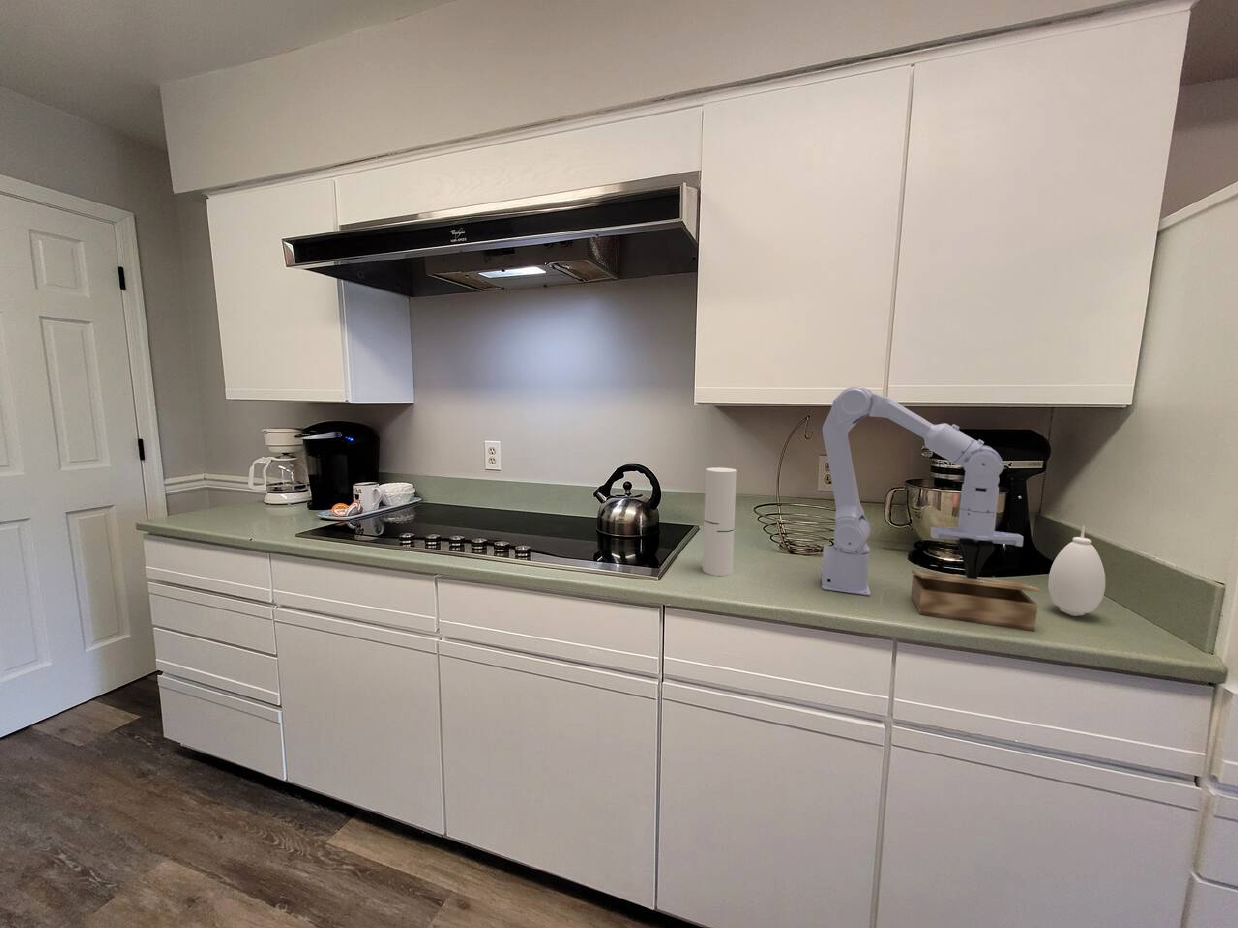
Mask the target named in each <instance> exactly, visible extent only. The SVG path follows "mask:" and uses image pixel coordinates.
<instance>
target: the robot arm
mask: <svg viewBox="0 0 1238 928" xmlns="http://www.w3.org/2000/svg"><path fill="white" fill-rule="evenodd" d="M830 407H831V408H830V410H829V412H828V414H827V417H826V419H825V422H824V424H823V426H822V436H823V441H824V442H823V443H824V448H825V452H826V457H827V463H828V471H829V475H830V481H831V486H832V493H833V499H834V505H835V515H834V521H835V527H834V531H833V535H832V536H833V541H834V543H833V545H824V546H823V558H822V559H823V560H822V568H821V570H820V578H821V589H823V590H826V591H827V590H829V591H835V592H841V593H849V594H855V595H862V596H863V595H864V596H870V595H871V591H870V587H869V584H868V577H869V576H868V575H869V565H870V552H871V548H870V547H869V546H868V544H867V542H866V541H867V540H868V539H869V538H870V536H871V534H872V526H871V524H870V522H869V521H868V519H867V518H866V516H865V512H864V508H863V506H862V505H861V502H860V495H859V490H858V484H857V478H856V473H855V468H854V462H853V457H852V456H853V455H852V451H851V444H850V438H849V433H850V431H852V429H853V428H854V427H855V426H856V424H858V422H859V421H861V420H863V419H864V418H866V417H867V416H868V417H875V418H886V419H889V420H890V421H892V422H894V423H896V424H897V425H899V426H901V427H903V428H904V429H906V430H909V431H910V432H912V433H914V434H915V435H918V436H919V437H922V438H923V441H924V445H925V448H926V449H927V450H930V451H932V452H933V453H935V454H936V455H938V456H940V457H942V458H943V459H944V460H947V461H948V462H950V463H952V464H953V465H955V466H962V467H963V469H964V471H965V472H964V481H963V483H962V486H961V495H960V505H959V512H958V513H959V514H958V524H957V525H958V526H956V527H955V526H954V527H953V526H952V527H948V526H945V527H941V526H939V527H938V526H931V527H930V534H929V535H930V537H931V538H932V540H933V539H934V540H935V539H937V540H939V539H942V540H954V541H955V542H956V545H957V547H958V549H959V551H960V555H961V557H962V561H963V565H964V573H965V574H964V576H967V577H968V578H972V579H977V578H979V577H978V576H979V574H980V571H981V569H982V567H983V566H984V564H985V562H987V560H988V558H990V556H991V555H992V554H993V553H994V552H995V547H996V546H995V545H994V544H1000V545H1007V546H1008V545H1011V546H1015V547H1021V548H1022V547H1023V546H1024V536H1023V535H1021V534H1019V533H1012V532H1004V531H997V530H996V521H997V512H998V505H999V504H998V503H999V495H1000V487H999V484H1000V475H1001V474H1002V473H1003V470H1004V469H1005V466H1004V461H1003V458H1002V457H1001V455H1000V454H999V452H997V451H996V450H995V449H993V448H992V446H989V445H984V444H985V441H983V440H981V439H978V440H976V439H974V438H972V437H971V436H969V435H968V434H965V433H964V432H962V431H960V426H958V425H956V424H953V423H952V425H949V424H948V423H940V424H934V423H931V422H929V421H928V420H926V419H924V418H923V417H922V416H920V415H918V414H916V413H915V412H913V411H912V410H910V409H908V408H907V407H905V406H903V405H902V404H900V403H898V402H897V401H895V400H894V399H892V398H889V397H887V396H884V395H882V394H879V393H876V392H872V391H871V390H870V389H867V388H863V387H858V386H855V387H854V386H853V387H849V388H846V389H844V390H843V391H841V393H839V395H838V396H837V397H836V398H835V399H834V400H833V401H832V404H831V406H830Z"/></svg>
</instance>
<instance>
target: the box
mask: <svg viewBox="0 0 1238 928" xmlns="http://www.w3.org/2000/svg"><path fill="white" fill-rule="evenodd" d="M911 584H912V585H911V594H910V598H911V600H912V602H913V604H914V606H915V608H916V610H917V613H918V614H919V615H920V616H928V617H935V618H941V619H949V620H953V621H954V620H955V621H960V622H961V621H962V622H968V623H974V624H975V623H976V624H980V625H989V626H994V627H995V626H996V627H1001V628H1008V629H1009V628H1010V629H1015V630H1023V631H1028V632H1035V628H1036V619H1037V614H1038V613H1037V612H1038V604H1037V603H1036V602H1035V601H1033V600H1032V599H1031V598H1030V597H1029V595H1027V594H1026V593H1025V591H1024V590H1016V589H1008V588H1000V587H992V586H984V585H975V584H967V583H959V582H951V581H943V580H935V579H927V578H921V577H919V576H917V575H915V574H913V575H912V583H911ZM1023 591H1024V592H1023Z"/></svg>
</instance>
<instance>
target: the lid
mask: <svg viewBox="0 0 1238 928" xmlns="http://www.w3.org/2000/svg"><path fill="white" fill-rule="evenodd" d="M911 573H912V574H913V575H917V576H919V577H921V578H927V579H935V580H943V581H951V582H959V583H967V584H975V585H984V586H992V587H1000V588H1008V589H1016V590H1021V591H1024V592H1034V593H1041V588H1039V587H1035V586H1031V585H1029V584H1024V583H1021V582H1018V581H1008V580H1001V579H1000V580H999V579H993V578H992V579H991V578H984V577H977V579H972V578H968V577H967V576H966V575H965V574H963V575H962V574H950V573H941V572H935V571H933V572H932V571H925V570H916V569H912V570H911Z"/></svg>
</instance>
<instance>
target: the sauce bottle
mask: <svg viewBox="0 0 1238 928" xmlns="http://www.w3.org/2000/svg"><path fill="white" fill-rule="evenodd" d="M1085 530H1086V527H1085V525H1084V524H1083V526H1082V529H1081V533H1080V536H1074V537H1073V538H1072V539H1071V540H1072V541H1071V542H1069V543H1068V544H1067V545H1065V546H1064V547H1063V548H1062V549H1061V550H1060V552H1059V553H1058V554H1057V556H1056V558H1055V559H1054V561H1053V563H1052V565H1051V568H1050V571H1049V575H1048V585H1047V586H1048V592H1049V596H1050V598H1051V600H1052V602H1053V603H1054V605H1056V606H1057V607H1059V610H1060V611H1062V612H1064V614H1067V615H1068V614H1069V615H1068V616H1071V617H1078V616H1084V615H1086V614H1087V613H1092V612H1093V611H1094V610H1096V609H1097V607H1098V606H1099V605H1100V603H1101V602H1102V600H1103V598H1104V594H1105V591H1106V574H1105V568H1104V566H1103V562H1102V560H1101V557H1100V555H1099V553H1098V551H1097V550H1096V548H1095V547H1094V546H1093V545H1092V540H1091V539H1090V538H1086V537H1085Z"/></svg>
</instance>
